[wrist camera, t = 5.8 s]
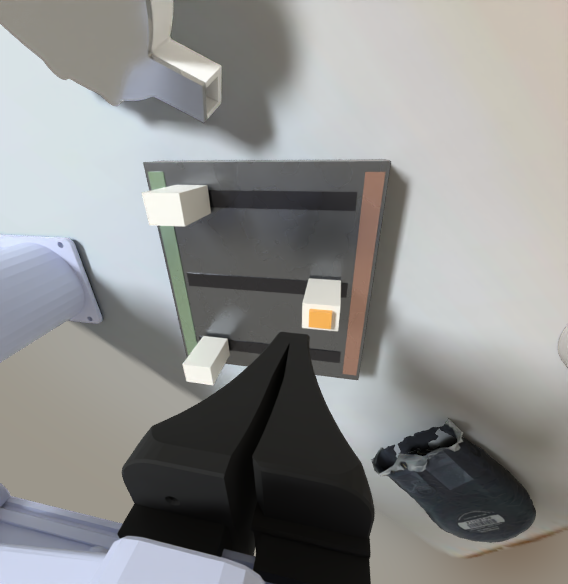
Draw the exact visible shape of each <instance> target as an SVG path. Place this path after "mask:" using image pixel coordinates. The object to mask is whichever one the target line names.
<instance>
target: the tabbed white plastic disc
mask: <svg viewBox="0 0 568 584" xmlns="http://www.w3.org/2000/svg"><path fill="white" fill-rule="evenodd" d="M172 22H173V0H0V24H1V25H2V26H3V27H4V28H5V29H7V30H8V31H9V32H10V33H11V34H12V35H13V36H14V37H15V38H17V39H18V40H19V41H20V42H21V43H22V44H24V45H25V46H26V47H27V48H28V49H30V50H31V51H32V52H33V53H35V54H36V55H37V56H38V57H40V58H41V59H42V60H43V61H44V62H45V64H46V65H47V66H48V68H49V69H50V70H51V71H52V72H53V73H54V74H55V75H56V76H58V77H59V78H61V79H63V80H67V79H71V80H73V81H75V82H76V83H78V84H80V85H82V86H84V87H85V88H87V89H89V90H92V91H94V92H96V93H98V94H100V95H101V96H102V97H103V98H104V99H105V100H106V101H107V102H108V103H110V104H111V105H113V106H119V105H120V104H121V103H122V102H123V101H139V100H144V99H147V98H150V97H155V98H157V99H159V100H161V101H163V102H165V103H167V104H169V105H171V106H173V107H174V108H176V109H178V110H180V111H182V112H184V113H186V114H188V115H190V116H192V117H194V118H196V119H197V120H199V121H201V122H203V123H205V122H206V120H207V119H208V118H209V117H210V116H211V115H212V113H213V112H214V111H215V110H216V109H217V108H218V107H219V105H220V104H221V90H222V66H221V65H219V64H217V63H216V62H214V61H212V60H210V59H208V58H206V57H204V56H202V55H201V54H199V53H197V52H195V51H193V50H191V49H189V48H187V47H186V46H184V45H182V44H180V43H178V42H176V41H174V40H173V39H172V38H171V37H170V34H171V28H172Z"/></svg>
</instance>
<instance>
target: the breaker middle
mask: <svg viewBox="0 0 568 584" xmlns="http://www.w3.org/2000/svg"><path fill="white" fill-rule="evenodd" d="M340 304H341V280H327V279H312V278H309V280H308V283H307V287H306V291H305V295H304V299H303V303H302V328H308V329H318V330H328V331H338V327H339V317H340Z"/></svg>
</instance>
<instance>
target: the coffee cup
mask: <svg viewBox="0 0 568 584" xmlns="http://www.w3.org/2000/svg"><path fill="white" fill-rule="evenodd" d="M558 353H559V356H560V358H561V360H562V361H563V362H564V364H565V365H566V366H567V367H568V325H567V326H566V328H565V329H564V330H563V332H562V334H561V336H560V338H559V342H558Z"/></svg>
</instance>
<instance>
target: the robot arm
mask: <svg viewBox="0 0 568 584" xmlns="http://www.w3.org/2000/svg"><path fill="white" fill-rule="evenodd" d="M102 320H103V318H102V315H101V313H100V310H99V307H98V305H97V302H96V299H95V297H94V294H93V291H92V289H91V286H90V283H89V281H88V278H87V275H86V273H85V270H84V267H83V265H82V262H81V259H80V257H79V254H78V251H77V248H76V246H75V243H74V242H73V241H72V240H71V239H69V238H58V237H37V236H17V235H0V363H1V362H2V361H3V360H5V359H7V358H8V357H10V356H12V355H13V354H15V353H16V352H18V351H20V350H21V349H23V348H24V347H26V346H28V345H29V344H30V343H32V342H34V341H35V340H37V339H39V338H40V337H42V336H43V335H45V334H46V333H48V332H50V331H51V330H53V329H54V328H56V327H57V326H59V325H61V324H62V323H64V322H66V321H77V322H86V323H95V324H99V323H100V322H101V321H102ZM309 345H310V337H309V335H308V334H299V333H289V332H279V333H278V334H277V336H276V337H275V338H274V339H273V341H272V342H271V343H270V344H269V345H268V346H267V348H266V349H265V350H264V351H263V352H262V353H261V354H260V355H259V356H258V357H257V358H256V359H255V360H254V361H253V362H252V363H251V364H250V365H249V366H248V367H247V368H246V369H245V370H244V371H243V372H242V373H240V374H239V375H238V376H237V377H236V378H234V379H233V380H232V381H231V382H229V383H228V384H227V385H225V386H224V387H223V388H221V389H220V390H218V391H217V392H216V393H214V394H213V395H211V396H210V397H208V398H207V399H205V400H203V401H202V402H200V403H198V404H196V405H195V406H193V407H191V408H189V409H187V410H185V411H184V412H182V413H180V414H178V415H176V416H173V417H171V418H169V419H167V420H165V421H163V422H160V423H158V424H156V425H154V426H152V427H151V428H150V430H149V431H148V432H147V433H146V435H145V436H144V437H143V439H142V440H141V441H140V443H139V444H138V445H137V447H136V448H135V450H134V451H133V453H132V454H131V456H130V457H129V459H128V460H127V462H126V463H125V464H124V466H123V468H122V477H123V480H124V483H125V485H126V487H127V489H128V491H129V493H130V495H131V497H132V499H133V501H134V503H135V504H134V506H133V507H132V509H131V511H130V512H129V514H128V516H127V518H126V519H125V521H124V523H123V524H122V523H118V522H114V521H110V520H106V519H102V518H98V517H94V516H90V515H86V514H82V513H77V512H74V511H70V510H66V509H62V508H57V507H53V506H50V505H45V504H41V503H37V502H33V501H29V500H25V499H21V498H17V497H13V496H10V493H9V492H8V490H7V489H6V488H5V486H3V485H2V484H1V483H0V584H371V582H370V566H369V558H370V539H369V536H370V532H371V528H372V525H373V521H374V505H373V499H372V495H371V491H370V487H369V484H368V481H367V478H366V475H365V472H364V469H363V466H362V463H361V462H360V460H359V459H358V457H357V456H356V454H355V453H354V452H353V450H352V449H351V447H350V446H349V444H348V443H347V441H346V439H345V438H344V436H343V434H342V433H341V431H340V430H339V428H338V426H337V424H336V422H335V420H334V418H333V417H332V415H331V413H330V411H329V409H328V407H327V405H326V402H325V400H324V398H323V395H322V393H321V390H320V388H319V385H318V382H317V379H316V376H315V373H314V369H313V365H312V361H311V356H310V350H309ZM255 548H256V557H255V556H254V550H255Z"/></svg>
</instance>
